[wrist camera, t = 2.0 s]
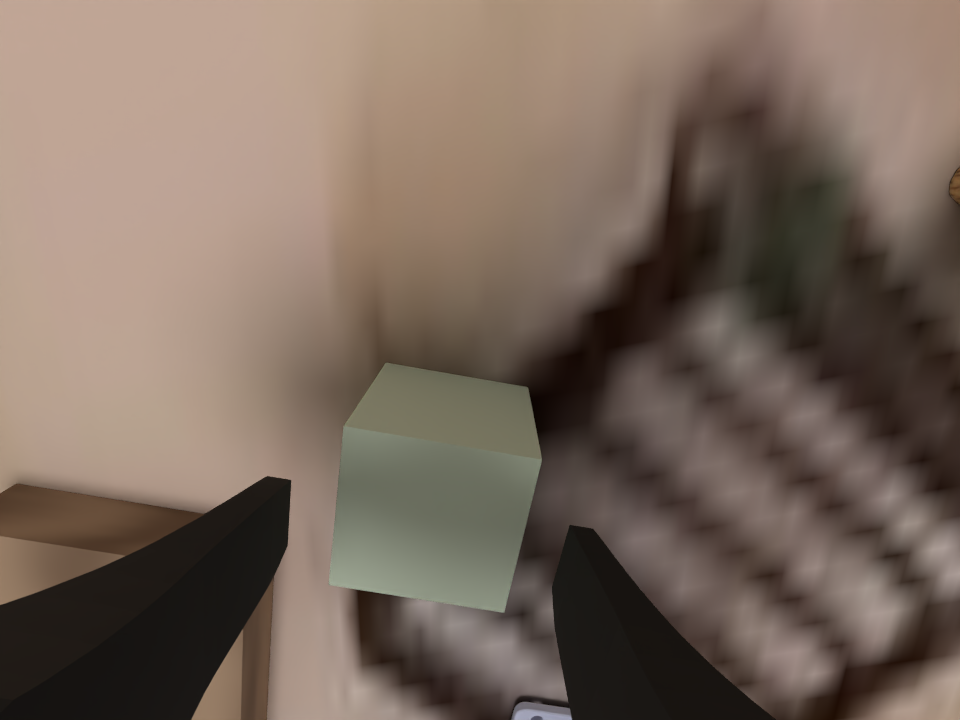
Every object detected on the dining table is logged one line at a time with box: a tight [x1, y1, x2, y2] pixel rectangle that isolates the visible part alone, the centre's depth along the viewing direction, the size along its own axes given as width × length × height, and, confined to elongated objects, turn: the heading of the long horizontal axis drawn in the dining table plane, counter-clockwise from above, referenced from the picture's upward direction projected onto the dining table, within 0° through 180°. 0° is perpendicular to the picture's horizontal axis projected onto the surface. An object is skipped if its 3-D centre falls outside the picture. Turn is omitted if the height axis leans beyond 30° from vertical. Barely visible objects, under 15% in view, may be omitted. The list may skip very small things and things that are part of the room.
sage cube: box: [329, 363, 542, 613], centre depth 15 cm, size 5×5×5 cm
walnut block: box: [0, 484, 274, 720], centre depth 19 cm, size 10×12×3 cm
